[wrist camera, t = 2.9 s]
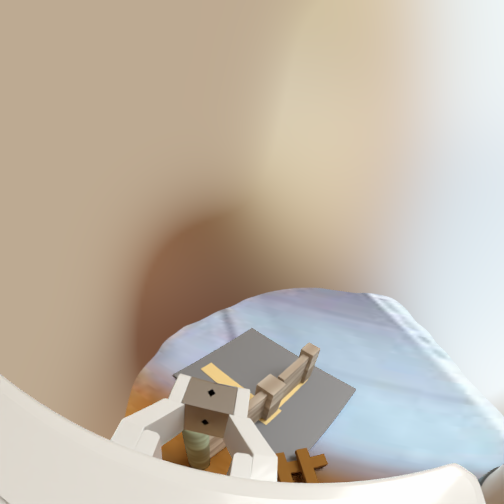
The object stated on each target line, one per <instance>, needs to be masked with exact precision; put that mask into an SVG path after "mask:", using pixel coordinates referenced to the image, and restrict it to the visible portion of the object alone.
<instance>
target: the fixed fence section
mask: <svg viewBox="0 0 504 504" xmlns="http://www.w3.org/2000/svg"><path fill="white" fill-rule="evenodd" d="M319 351H320V348H318V347H316V346H314V345H313V344H311V343H308V344H307V345H305V346H304V347H303V348H302V349H301V352H300V355H299V358H298V359H297V360H296V361H295V362H294V363H293V364H292V365H290V366H289V367H288V368H287V369H286V370H285V371H284V372H283V373H281V374H280V375H279V376H278V379H279V380H281V381H282V382H284V383H285V384H286V386H285V390H284V393H283V396H282V399H283V398H285V397H286V396H287V395H288V394H289V393H290V392H291V391H292V390H293V389H294V388H295V387H296V386H297V385H298V384H299V383H300V382H301V383H304V382H305V381H306V380H307V379H308V378H309V377H310V376H311V373H312V370H313V368H314V365H315V362H316V360H317V357H318V354H319ZM282 399H281V400H282Z"/></svg>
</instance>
